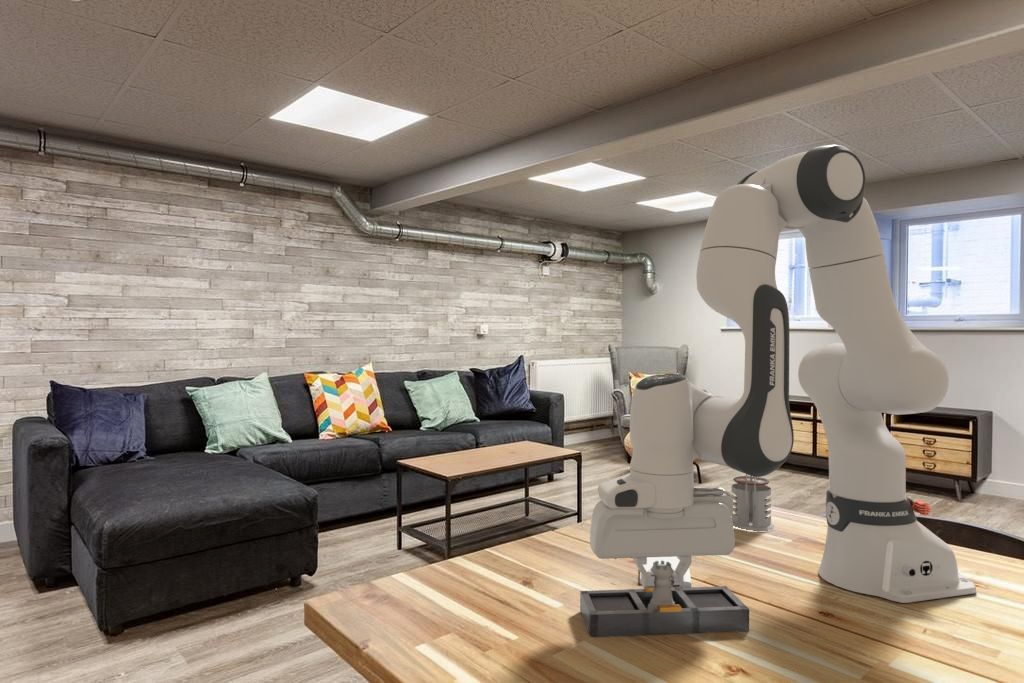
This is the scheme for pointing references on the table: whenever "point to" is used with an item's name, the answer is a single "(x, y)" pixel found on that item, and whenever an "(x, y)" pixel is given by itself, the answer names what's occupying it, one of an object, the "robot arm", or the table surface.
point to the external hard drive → (674, 563)
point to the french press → (751, 503)
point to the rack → (663, 612)
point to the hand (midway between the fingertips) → (662, 585)
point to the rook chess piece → (661, 585)
